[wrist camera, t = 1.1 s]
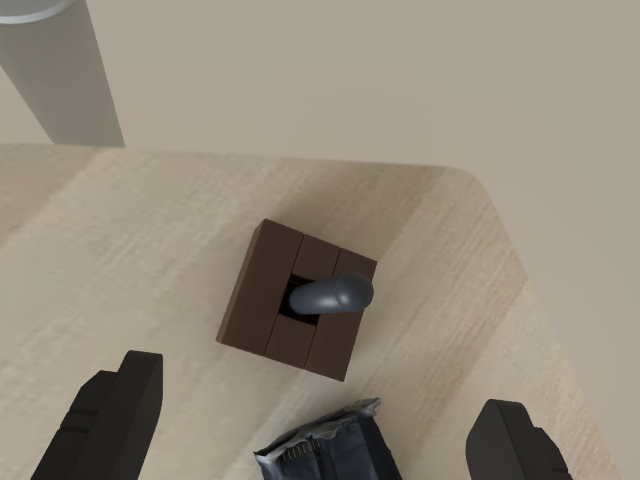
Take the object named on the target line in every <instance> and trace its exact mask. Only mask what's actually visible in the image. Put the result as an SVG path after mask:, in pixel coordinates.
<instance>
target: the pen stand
mask: <svg viewBox="0 0 640 480" xmlns="http://www.w3.org/2000/svg"><path fill="white" fill-rule="evenodd" d="M376 265H377V261H375V260H372V259H369V258H367V257H364V256H362V255H359V254H356V253H354V252H351V251H349V250H346V249H343V248H340V247H338V246H336V245H333V244H330V243H328V242H325V241H323V240H320V239H317V238H315V237H312V236H310V235H307V234H304V233H302V232H299V231H297V230H294V229H291V228H289V227H286V226H284V225H281V224H278V223H276V222H273V221H271V220H268V219H264V220H263V221H262V222H261V223H260V224H259V226H258V227H257V228H256V229H255V231H254V234H253V237H252V240H251V242H250V245H249V248H248V251H247V254H246V256H245V259H244V262H243V265H242V268H241V270H240V273H239V276H238V279H237V282H236V284H235V287H234V290H233V293H232V296H231V298H230V301H229V304H228V307H227V310H226V312H225V315H224V318H223V321H222V324H221V326H220V329H219V332H218V335H217V338H216V341H217V342H219V343H221V344H225V345H228V346H231V347H234V348H237V349H240V350H244V351H247V352H250V353H253V354H256V355H259V356H263V357H266V358H269V359H272V360H275V361H278V362H282V363H285V364H288V365H291V366H294V367H297V368H301V369H304V370H307V371H310V372H313V373H316V374H320V375H323V376H326V377H329V378H332V379H335V380H339V381H342V382H343V381H344V378H345V375H346V371H347V368H348V364H349V360H350V357H351V353H352V350H353V346H354V343H355V339H356V336H357V332H358V329H359V325H360V322H361V318H362V315H363V311H364V309H363V310H361V311H358V312H342V313H322V314H306V318H305V321H304V322H302V321H299V320H296V319H293V318H290V317H287V316H284V315H282V314H278V311H279V308H280V305H281V302H282V299H283V296H284V293H285V290H286V287H287V284H288V281H290V282H293V283H296V284H299V285H305V284H308V283H312V282H316V281H319V280H323V279H327V278H330V277H334V276H337V275H341V274H345V273H348V272H359V273H361V274H363V275H365V276H366V277H367V278H368V279H369V280H370V281H371V283H372V279H373V276H374V272H375V269H376Z"/></svg>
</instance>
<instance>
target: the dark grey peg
mask: <svg viewBox="0 0 640 480" xmlns="http://www.w3.org/2000/svg"><path fill="white" fill-rule="evenodd" d="M373 294H374V290H373V285H372V283H371V281H370V280H369V279H368V278H367V277H366V276H365V275H363V274H361V273H359V272H348V273H345V274H341V275H337V276H334V277H330V278H327V279H323V280H319V281H316V282H312V283H308V284H305V285H301V286H298V287H294V288H290V289H288V290H286V291H285V293H284V296H283V299H282V302H281V306H282V308H283V310H284V311H285V312H286V313H288V314H291V315H302V314H322V313H342V312H358V311H361V310H363V309H365V308H366V307H367V306H368V305H369V304H370V303H371V301H372V298H373Z"/></svg>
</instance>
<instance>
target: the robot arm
mask: <svg viewBox="0 0 640 480" xmlns="http://www.w3.org/2000/svg"><path fill="white" fill-rule="evenodd" d="M162 399H163V356H162V354H157V353H149V352H142V351H134V350H129V351H128V352H127V354H126V356H125V357H124V360H123V362H122V364H121V366H120V368H119V370H118V372H111V371H103V370H100V371H99V372H98V373H97V374H96V375H94V376H93V377H92V378H91V379H90V380H89V381H88V382H86V383H85V384H84V385H83V386H82V387H81V388H80V390H79V392H78V394H77V396H76V398H75V399H74V401H73V403H72V405H71V407H70V410H69V412H67V414H66V416H65V418H64V419H63V421H62V423H61V425H60V429H59V430H57V432H56V434H55V436H54V438H53V439H52V441H51V443H50V445H49V447H48V448H47V450H46V452H45V454H44V456H43V458H42V459H41V461H40V463H39V465H38V467H37V468H36V470H35V472H34V474H33V476H32V477H31V479H30V480H138V477H139V474H140V471H141V468H142V465H143V463H144V460H145V457H146V454H147V451H148V448H149V445H150V443H151V440H152V437H153V434H154V431H155V428H156V425H157V422H158V419H159V415H160V411H161V406H162ZM466 460H467V465H468V468H469V472H470V476H471V479H472V480H573V479H572V476H571V474H569V473H568V468H567V466H566V463H565V461H564V459H563V457H562V455H561V453H560V450H559V448H558V447H557V446H556V445H555V443H554V442H553V441H552V440H551V439H550V437H549V436H548V435H547V434H546V433H545V431H544V430H543V429H542V428H538V427H534V426H533V424H532V422H531V419H530V417H529V415H528V412H527V410H526V408H525V407H524V405H523V404H521V403H518V402H511V401H503V400H496V399H489V400H488V401H487V402H486V403H485V405H484V407H483V409H482V411H481V412H480V414H479V416H478V418H477V420H476V422H475V424H474V425H473V427H472V429H471V431H470V433H469V435H468V437H467V441H466Z"/></svg>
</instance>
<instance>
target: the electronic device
mask: <svg viewBox="0 0 640 480" xmlns="http://www.w3.org/2000/svg"><path fill="white" fill-rule="evenodd" d="M380 400H381V398H374V399H365V400H359V401H357V402H355V403H353V404H350V405H348V406H346V407H344V408H342V409H340V410H338V411H336V412H333V413H331V414H329V415H326V416H324V417H321V418H319V419H317V420H315V421H313V422H310V423H308V424H305V425H303V426H300V427H298V428H296V429H294V430H291V431H289V432H287V433H285V434H283V435H282V436H280V437H278V438H277V439H276V440H275V441H273V443H272V444H271V445H269V446H268V447H267V448H265V449H262V450H260V451H258V452H253V453H254V455H255V457H256V460H257V462H258V464H259V465H260V466H261V469H262V474H263V477H264V480H403V479H402V477H401V475H400V473H399V471H398V468H397V466H396V464H395V461H394V459H393V457H392V455H391V451H390V450H389V449H388V447H387V446H386V444H385V442H384V439H383V437H382V435H381V433H380V430H379V427H378V426H377V424H376V423H375V421H374V419H373V416H375V415H376V412H375V411H374V409H375V408H376V407H377V406H379V405H380V404H381V401H380Z"/></svg>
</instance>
